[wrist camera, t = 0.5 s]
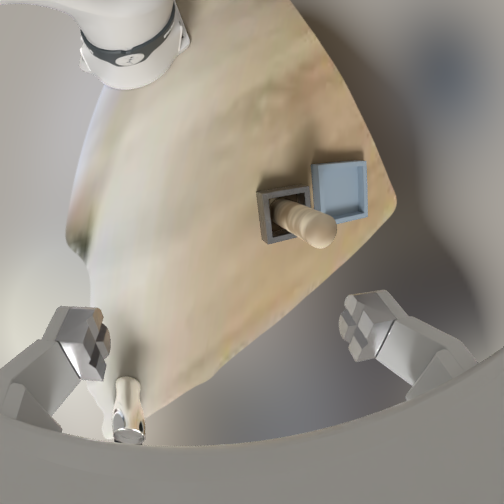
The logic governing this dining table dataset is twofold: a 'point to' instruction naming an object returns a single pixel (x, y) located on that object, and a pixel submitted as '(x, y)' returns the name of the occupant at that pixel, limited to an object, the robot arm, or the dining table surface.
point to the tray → (341, 189)
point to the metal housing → (264, 210)
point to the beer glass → (128, 412)
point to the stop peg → (304, 222)
